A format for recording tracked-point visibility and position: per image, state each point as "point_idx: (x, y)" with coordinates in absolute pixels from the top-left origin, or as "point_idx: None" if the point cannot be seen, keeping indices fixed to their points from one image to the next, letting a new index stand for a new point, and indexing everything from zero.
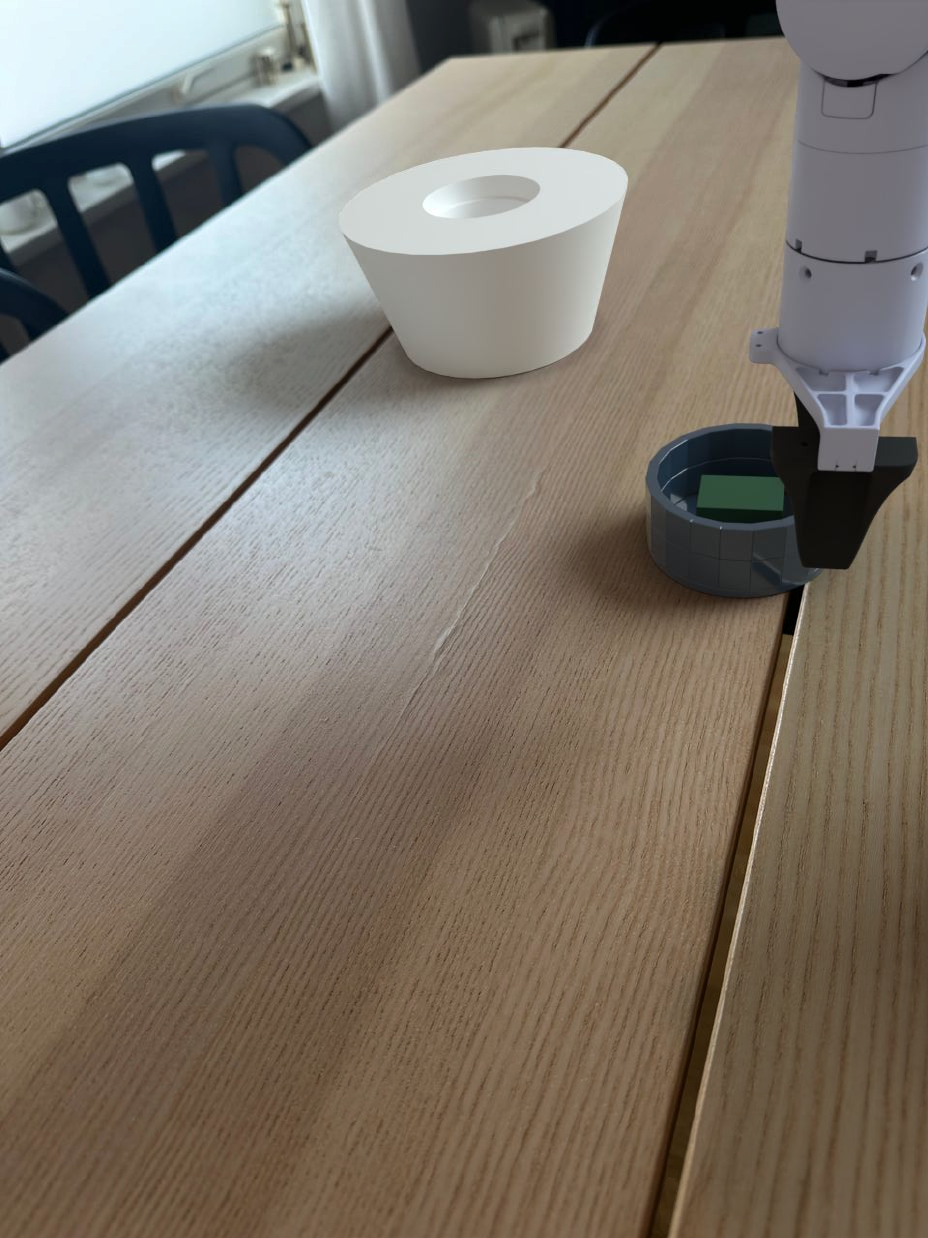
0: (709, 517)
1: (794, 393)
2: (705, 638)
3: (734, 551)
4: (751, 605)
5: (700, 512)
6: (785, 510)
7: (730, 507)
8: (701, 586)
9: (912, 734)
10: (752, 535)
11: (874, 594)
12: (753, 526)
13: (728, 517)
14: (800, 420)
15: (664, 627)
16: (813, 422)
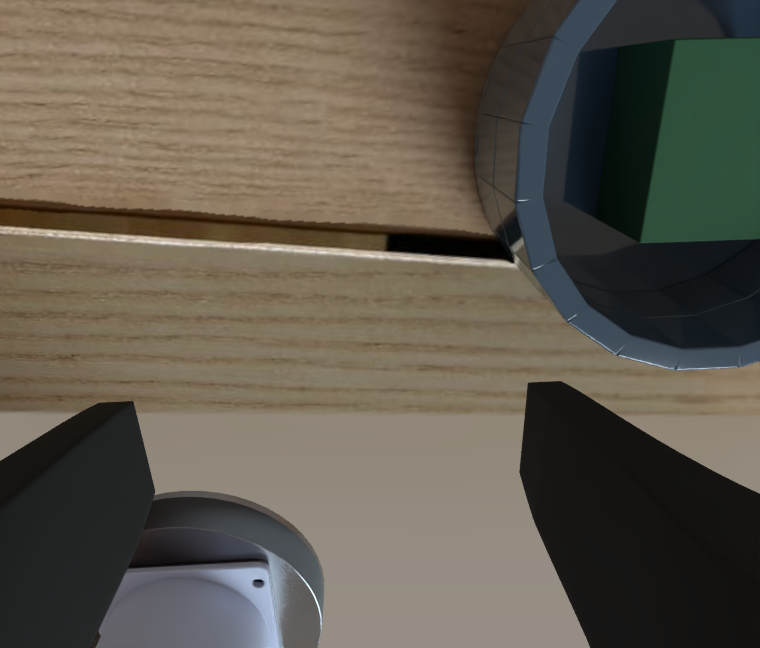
0: (653, 76)
1: (687, 533)
2: (355, 101)
3: (500, 153)
4: (455, 177)
5: (664, 52)
6: None
7: (662, 128)
8: (489, 76)
9: (214, 406)
10: (511, 198)
11: (495, 361)
12: (530, 201)
13: (646, 122)
14: (611, 470)
15: (375, 10)
16: (601, 502)
